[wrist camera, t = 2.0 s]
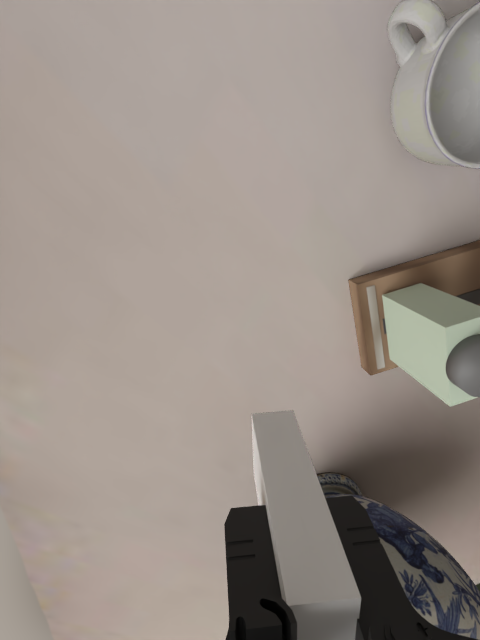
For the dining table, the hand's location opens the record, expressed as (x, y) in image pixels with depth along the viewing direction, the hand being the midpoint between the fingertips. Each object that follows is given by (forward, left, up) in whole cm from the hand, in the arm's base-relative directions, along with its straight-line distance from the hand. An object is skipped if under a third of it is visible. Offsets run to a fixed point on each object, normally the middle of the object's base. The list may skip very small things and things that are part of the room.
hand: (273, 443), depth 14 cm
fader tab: (-1, +19, -21) cm, 29 cm away
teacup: (-20, +14, -24) cm, 35 cm away
